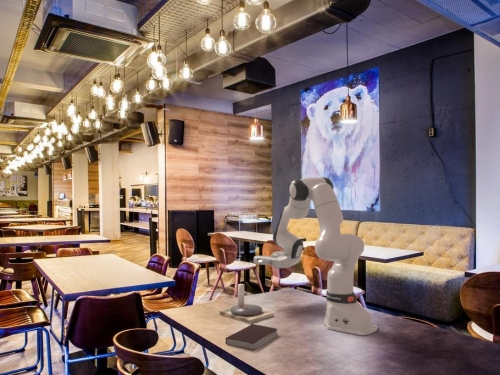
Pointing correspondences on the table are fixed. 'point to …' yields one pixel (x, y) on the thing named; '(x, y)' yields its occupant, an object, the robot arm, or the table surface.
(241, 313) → the grey post stand
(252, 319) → the plate
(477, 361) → the table surface
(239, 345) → the book
